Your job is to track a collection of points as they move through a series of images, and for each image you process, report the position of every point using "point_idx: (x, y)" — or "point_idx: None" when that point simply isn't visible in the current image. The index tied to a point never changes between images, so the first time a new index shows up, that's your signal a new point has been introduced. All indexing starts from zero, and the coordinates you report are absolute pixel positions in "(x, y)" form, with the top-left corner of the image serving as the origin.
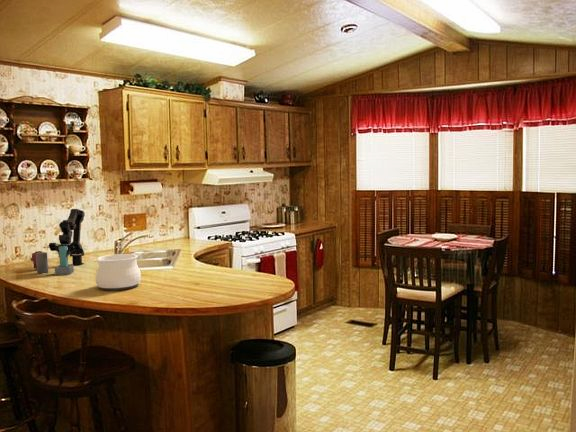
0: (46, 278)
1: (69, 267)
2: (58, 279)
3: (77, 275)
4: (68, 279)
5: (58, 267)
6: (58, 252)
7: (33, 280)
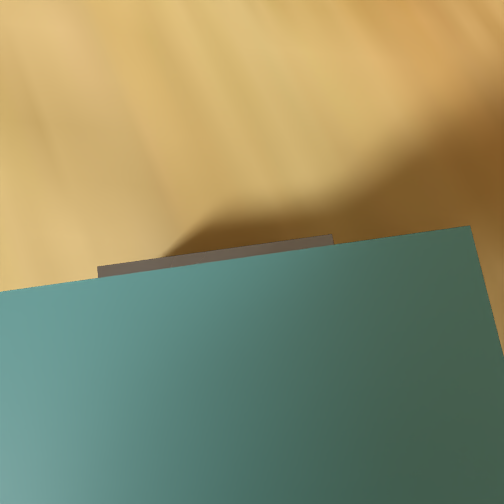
0: (324, 93)
1: (100, 267)
2: (162, 32)
3: (16, 223)
4: (49, 21)
5: (271, 242)
6: None
7: (413, 13)
